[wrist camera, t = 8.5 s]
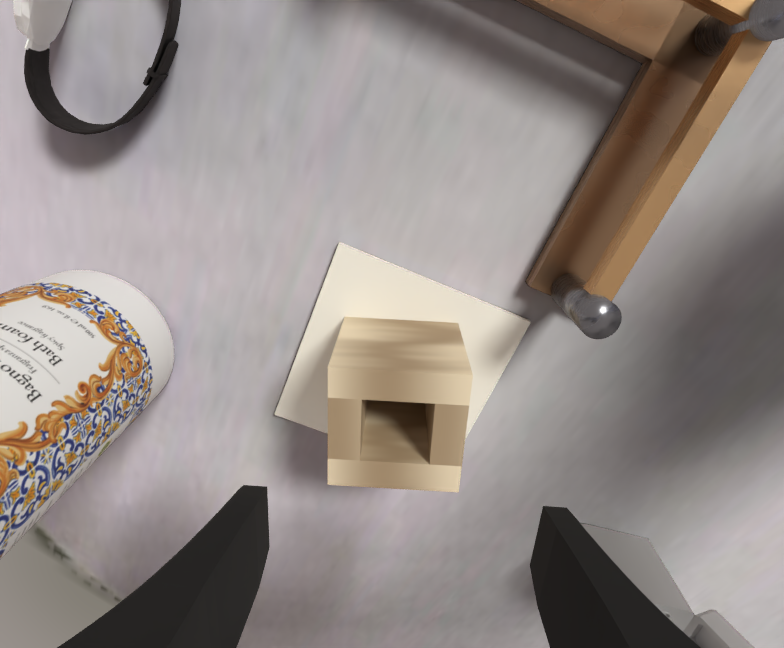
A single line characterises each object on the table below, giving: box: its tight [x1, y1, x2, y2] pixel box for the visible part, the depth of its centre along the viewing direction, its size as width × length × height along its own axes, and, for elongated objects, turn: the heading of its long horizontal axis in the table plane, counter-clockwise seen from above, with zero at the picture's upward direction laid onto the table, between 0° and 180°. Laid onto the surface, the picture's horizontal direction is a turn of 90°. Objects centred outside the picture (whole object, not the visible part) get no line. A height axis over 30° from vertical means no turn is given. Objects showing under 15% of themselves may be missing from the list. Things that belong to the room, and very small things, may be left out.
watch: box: [13, 0, 181, 134], centre depth 16 cm, size 8×5×4 cm, turn 152°
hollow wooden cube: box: [328, 317, 473, 492], centre depth 20 cm, size 5×5×5 cm
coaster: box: [274, 242, 531, 439], centre depth 22 cm, size 9×9×1 cm
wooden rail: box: [516, 0, 784, 339], centre depth 16 cm, size 14×12×4 cm
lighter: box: [581, 523, 754, 648], centre depth 22 cm, size 7×2×8 cm, turn 75°
